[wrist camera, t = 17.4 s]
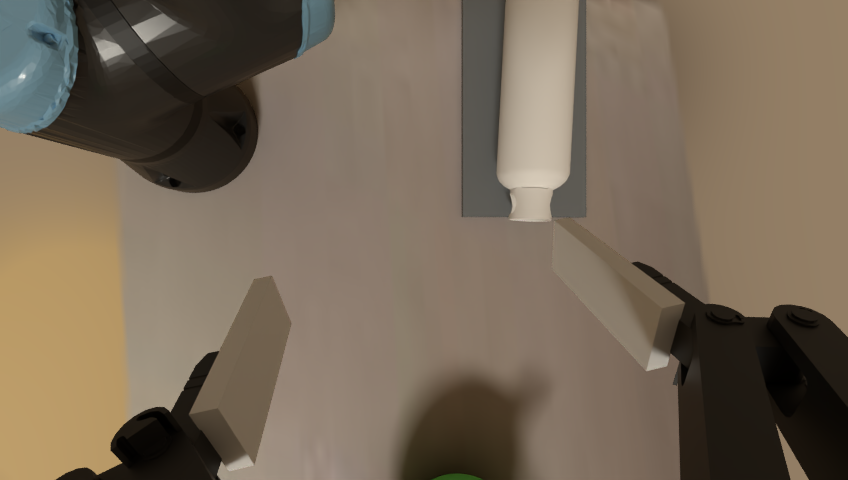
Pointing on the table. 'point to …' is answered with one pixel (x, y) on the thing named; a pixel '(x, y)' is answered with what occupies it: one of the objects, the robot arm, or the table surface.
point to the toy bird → (457, 477)
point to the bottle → (536, 103)
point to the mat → (483, 111)
